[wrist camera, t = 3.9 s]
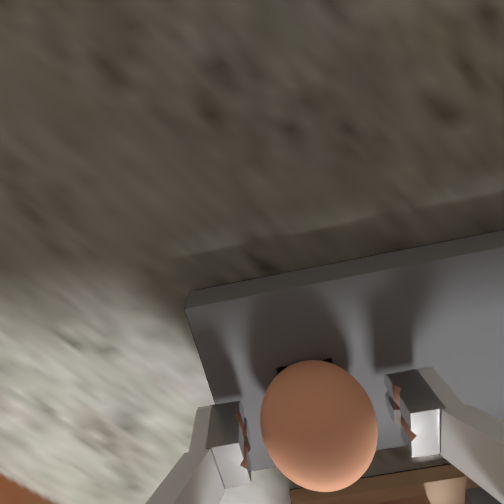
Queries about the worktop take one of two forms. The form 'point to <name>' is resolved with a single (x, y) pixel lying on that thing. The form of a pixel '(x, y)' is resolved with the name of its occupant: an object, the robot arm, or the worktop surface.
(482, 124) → the worktop surface
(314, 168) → the worktop surface
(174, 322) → the worktop surface
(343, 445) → the ball terracotta
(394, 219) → the worktop surface
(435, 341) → the grey flat slab
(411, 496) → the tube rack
